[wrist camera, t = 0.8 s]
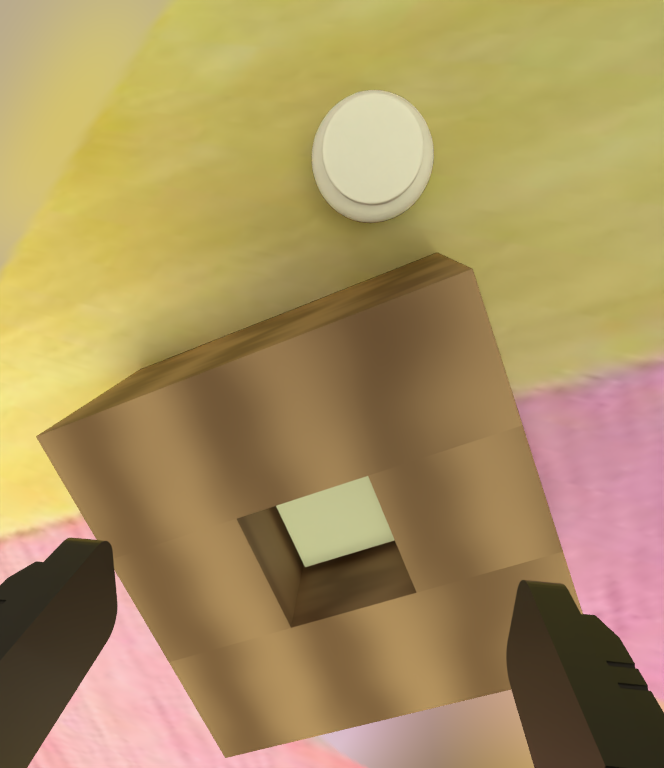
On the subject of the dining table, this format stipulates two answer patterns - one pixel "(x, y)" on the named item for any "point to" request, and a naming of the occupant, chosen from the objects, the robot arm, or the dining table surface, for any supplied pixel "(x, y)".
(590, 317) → the dining table surface
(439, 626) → the walnut block
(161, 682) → the dining table surface
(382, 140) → the supplement bottle
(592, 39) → the dining table surface
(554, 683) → the robot arm
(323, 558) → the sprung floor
